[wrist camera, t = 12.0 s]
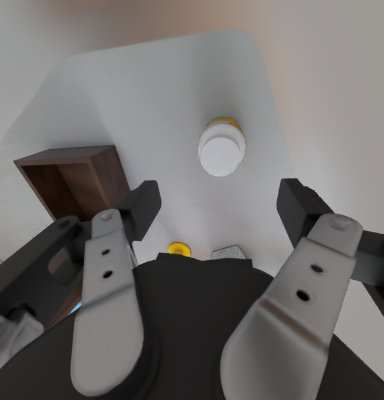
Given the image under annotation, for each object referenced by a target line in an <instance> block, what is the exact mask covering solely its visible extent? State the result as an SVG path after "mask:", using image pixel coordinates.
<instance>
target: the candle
mask: <svg viewBox="0 0 384 400" xmlns="http://www.w3.org/2000/svg"><path fill="white" fill-rule="evenodd" d="M169 253H171V254H181V255H184V256H187V257H189V256H190V253H191V252H190V249H189V247H188V246H187V245H185V244H183V243H178V242H177V243H172V244H171V245H170V246H169Z"/></svg>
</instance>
